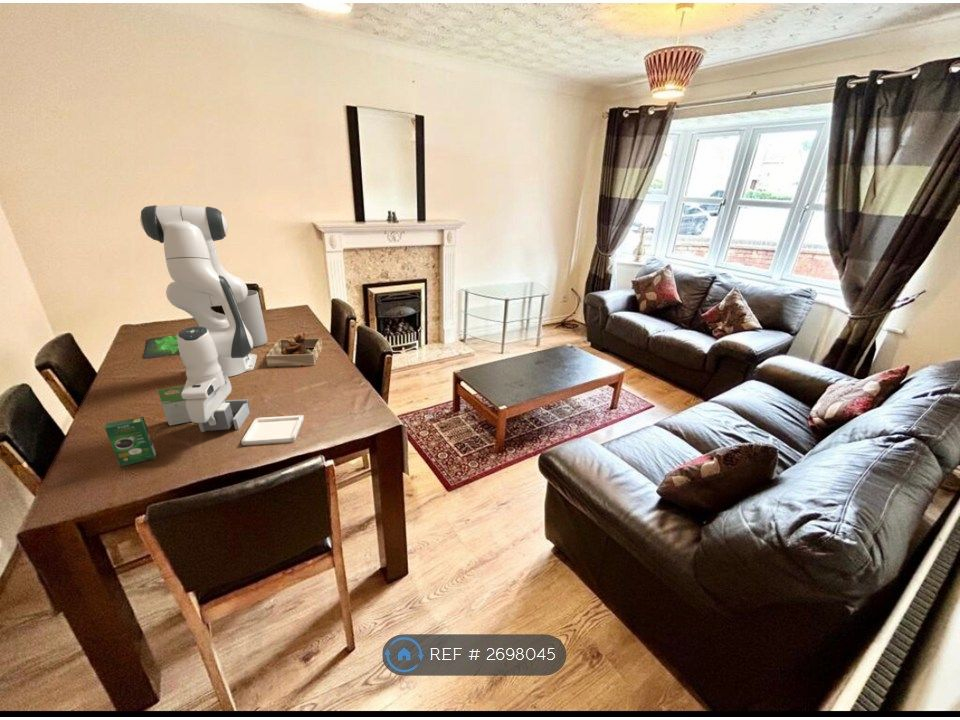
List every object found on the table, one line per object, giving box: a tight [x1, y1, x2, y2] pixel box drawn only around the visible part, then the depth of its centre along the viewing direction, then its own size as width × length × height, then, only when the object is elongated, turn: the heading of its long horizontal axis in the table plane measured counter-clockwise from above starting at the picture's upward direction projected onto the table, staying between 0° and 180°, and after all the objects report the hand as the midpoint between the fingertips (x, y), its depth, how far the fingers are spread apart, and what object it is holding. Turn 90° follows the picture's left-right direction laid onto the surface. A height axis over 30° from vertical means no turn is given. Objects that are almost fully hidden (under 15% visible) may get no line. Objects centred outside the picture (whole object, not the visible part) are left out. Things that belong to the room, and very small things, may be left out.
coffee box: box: [104, 416, 157, 467], centre depth 107 cm, size 8×3×13 cm, turn 120°
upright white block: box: [202, 403, 235, 432], centre depth 121 cm, size 4×7×7 cm, turn 101°
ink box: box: [156, 385, 192, 427], centre depth 125 cm, size 7×4×13 cm, turn 117°
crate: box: [265, 337, 324, 368], centre depth 175 cm, size 20×19×5 cm
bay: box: [197, 398, 251, 433], centre depth 127 cm, size 11×11×5 cm
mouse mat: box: [142, 334, 180, 360], centre depth 183 cm, size 27×22×1 cm
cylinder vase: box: [237, 289, 269, 349], centre depth 183 cm, size 12×12×25 cm
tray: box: [240, 414, 305, 446], centre depth 124 cm, size 13×15×2 cm
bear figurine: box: [280, 332, 313, 355], centre depth 172 cm, size 14×15×12 cm
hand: (217, 418), depth 122 cm, fingers closed on upright white block, 4 cm apart
